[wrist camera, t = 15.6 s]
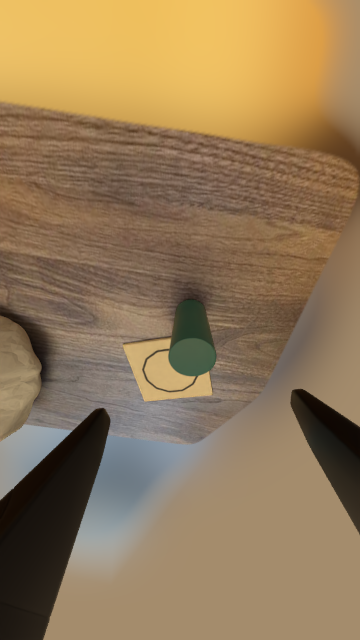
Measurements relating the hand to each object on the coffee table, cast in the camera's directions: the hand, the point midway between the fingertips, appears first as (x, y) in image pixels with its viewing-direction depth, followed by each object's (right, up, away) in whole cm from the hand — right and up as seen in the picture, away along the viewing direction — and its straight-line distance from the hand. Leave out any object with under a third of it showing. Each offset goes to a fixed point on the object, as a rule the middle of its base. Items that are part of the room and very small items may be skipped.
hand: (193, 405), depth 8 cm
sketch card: (-2, -3, +15) cm, 15 cm away
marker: (+1, +5, +11) cm, 12 cm away
